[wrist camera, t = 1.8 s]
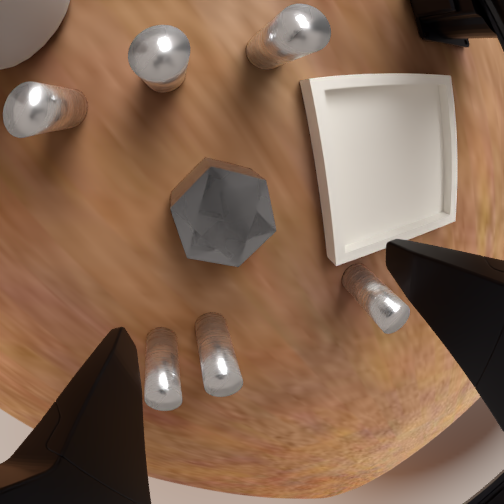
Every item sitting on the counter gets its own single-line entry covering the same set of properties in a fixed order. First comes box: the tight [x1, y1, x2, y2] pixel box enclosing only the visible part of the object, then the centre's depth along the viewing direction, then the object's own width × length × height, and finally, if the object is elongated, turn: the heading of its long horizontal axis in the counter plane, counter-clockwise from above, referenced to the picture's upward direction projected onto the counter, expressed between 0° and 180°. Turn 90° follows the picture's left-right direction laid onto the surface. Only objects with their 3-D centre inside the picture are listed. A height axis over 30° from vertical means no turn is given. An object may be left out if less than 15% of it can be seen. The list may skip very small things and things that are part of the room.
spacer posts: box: [3, 4, 410, 411], centre depth 16 cm, size 18×20×6 cm
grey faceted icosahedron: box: [170, 157, 276, 267], centre depth 17 cm, size 5×6×4 cm
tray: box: [300, 73, 457, 266], centre depth 19 cm, size 13×13×2 cm
